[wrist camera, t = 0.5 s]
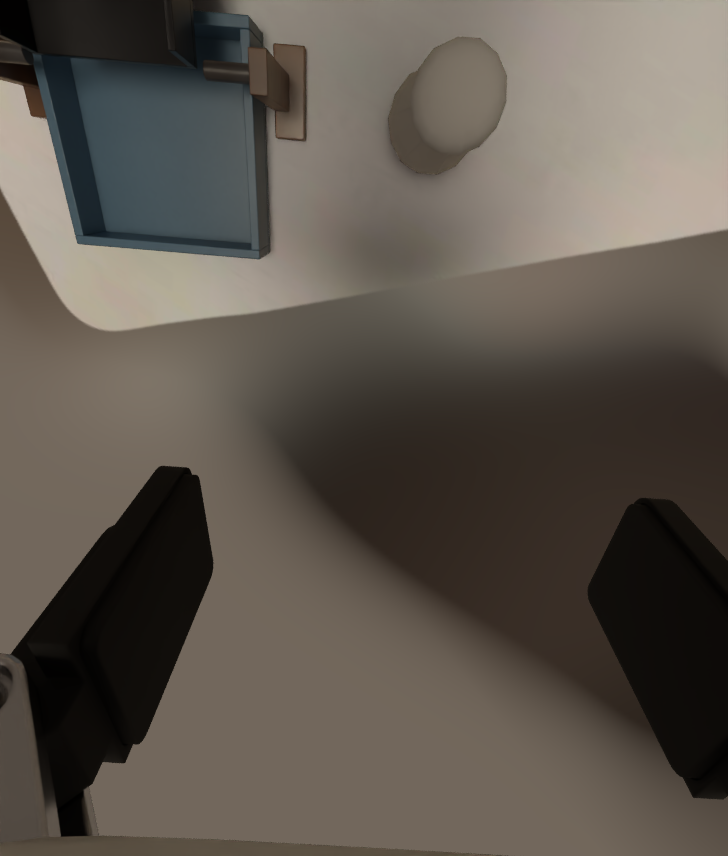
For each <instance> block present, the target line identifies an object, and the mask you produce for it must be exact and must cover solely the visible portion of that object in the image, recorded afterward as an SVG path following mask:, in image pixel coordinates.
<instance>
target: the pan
mask: <svg viewBox="0 0 728 856" xmlns="http://www.w3.org/2000/svg"><path fill="white" fill-rule="evenodd" d="M0 38H2V39H4V40H6V41H9V42H11V43H13V44H15V45H17V46H19V47H21V48H23V49H25V50H27V51H29V52H31V53H34V54H36V55H46V56H57V57H68V58H79V59H90V60H101V61H112V62H123V63H134V64H144V65H155V66H166V67H177V68H188V69H197V56H196V43H195V29H194V16H193V3H192V0H0Z"/></svg>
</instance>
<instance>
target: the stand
mask: <svg viewBox="0 0 728 856" xmlns="http://www.w3.org/2000/svg"><path fill="white" fill-rule="evenodd" d="M273 50H274V57H273V56H272V55H271V53H270V52H269V51H268V50H267V49H266V48H257V47H248V63H237V62H226V61H215V60H204V61H203V73H204V77H205V79H206V80H207V81H214V82H225V83H236V84H247V85H249V86H250V95H252V96H253V97H255V98H256V99H258V100H259V101H261V102H262V103H264V104H265V105H267V106H268V107H270V108H271V109H273V110H275V133H276V138H278V139H287V140H298V141H305V140H306V49H305V47H304V46H297V45H287V44H276V43H274V44H273ZM33 63H34V57H33V53H31V52H29V51H27V50H25V49H23V48H21V47H19V46H17V45H15V44H13V43H11V42H9V41H6V40H4V39H2V38H0V80H3V81H7V82H11V83H15V84H19V85H23V87H24V90H25V94H26V98H27V102H28V106H29V110H30V114H31V116H33V117H39V118H47V117H46V113H45V109H44V105H43V101H42V97H41V93H40V89H39V85H38V81H37V77H36V72H35V68H34V64H33Z"/></svg>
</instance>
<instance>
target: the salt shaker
mask: <svg viewBox="0 0 728 856" xmlns="http://www.w3.org/2000/svg"><path fill="white" fill-rule="evenodd" d="M506 87H507V75H506V72H505V70H504V68H503V65H502V63H501V60H500V58H499V56H498V53H497V52H496V51H495V50H493V49H492V48H491V47H490V46H489V45H487V44H486V43H485V42H484V41H483V40H481V39H480V38H469V37H456V38H454V39H452V40H450V41H448V42H446V43H444V44H442V45H440V46H438V47H436V48H434V49H433V50H432V52H431V53H430V54H429V56H428V57H427V58H426V60H425V61H424V62H423V64H422V65H421V66H420V68H419V69H418V71H415V72H413V73H411V74H409V76H408V77H407V79H406V80H405V81H404V83H403V84H402V85H401V87H400V88H399V90H398V91H397V92H396V94H395V96H394V100H393V103H392V107H391V110H390V114H389V117H388V122H389V130H390V138H391V143H392V145H393V147H394V149H395V151H396V153H397V155H398V157H399V159H400V161H401V162H402V163H404V164H405V165H407V166H408V167H410V168H411V169H413V170H414V171H416V172H417V173H425V174H436V175H437V174H439V173H441V172H443V171H446V170H448V169H450V168H452V167H455V166H456V165H457V164H458V163H459V162H460V160H461V159H462V158H463V157H464V156H465V155H466V154H467V152H469V151H471V150H473V149H475V148H477V147H479V146H480V145H481V144H482V143H483V142H484V141H485V140H486V139H487V138H488V137H489V135H490V134H491V133H492V132H493V131H494V130H495V129H496V127H497V125H498V122H499V120H500V117H501V114H502V111H503V109H504V106H505V103H506Z"/></svg>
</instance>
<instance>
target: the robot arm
mask: <svg viewBox="0 0 728 856" xmlns="http://www.w3.org/2000/svg"><path fill="white" fill-rule="evenodd" d="M212 572H213V557H212V551H211V545H210V539H209V533H208V527H207V522H206V515H205V509H204V503H203V497H202V492H201V485H200V480H199V477H198V476H197V475H192V473H191V471H190V469H189V468H186V467H171V466H160V467H158V468H157V469H156V470H155V472H154V473H153V474H152V476H151V477H150V479H149V480H148V481H147V483H146V484H145V485H144V487H143V488H142V489H141V491H140V492H139V493H138V495H137V496H136V497H135V499H134V500H133V501H132V503H131V504H130V505H129V507H128V508H127V509H126V511H125V512H124V513H123V515H122V516H121V517H120V519H119V520H118V521H117V523H116V524H115V525H113V526H112V527H109V528H108V529H107V530H106V531H105V532H104V533H103V534H102V535H101V537H100V538H99V539H98V540H97V542H96V543H95V544H94V546H93V547H92V548H91V550H90V551H89V552H88V554H87V555H86V556H85V558H84V559H83V560H82V561H81V563H80V564H79V565H78V567H77V568H76V569H75V571H74V572H73V573H72V574H71V576H70V577H69V578H68V580H67V581H66V582H65V584H64V585H63V586H62V587H61V589H60V590H59V591H58V593H57V594H56V596H55V597H54V598H53V599H52V601H51V602H50V603H49V605H48V606H47V607H46V608H45V610H44V611H43V612H42V614H41V615H40V616H39V618H38V619H37V620H36V621H35V623H34V624H33V626H32V627H31V628H30V629H29V631H28V632H27V633H26V635H25V636H24V638H23V639H22V640H21V641H20V642H19V644H18V645H17V646H16V648H15V649H14V650H13V652H12V653H11V654H3V653H0V856H506V855H489V854H472V853H471V854H470V853H455V852H436V851H420V850H403V849H386V848H367V847H347V846H330V845H311V844H292V843H274V842H255V841H237V840H218V839H190V838H189V839H188V838H158V837H128V836H127V837H126V836H99V833H98V828H97V823H96V819H95V814H94V809H93V804H92V799H91V794H90V789H89V786H90V785H91V784H93V781H94V779H95V777H96V775H97V773H98V771H99V768H100V766H101V764H102V762H112V763H125V762H126V760H127V757H128V755H129V752H130V750H131V748H132V745H133V744H140V743H141V742H142V741H143V739H144V738H145V736H146V734H147V732H148V729H149V727H150V724H151V722H152V720H153V717H154V715H155V712H156V710H157V707H158V705H159V703H160V700H161V698H162V695H163V693H164V690H165V688H166V685H167V683H168V681H169V678H170V676H171V673H172V671H173V669H174V666H175V664H176V661H177V659H178V656H179V654H180V652H181V649H182V646H183V644H184V642H185V639H186V637H187V635H188V632H189V630H190V627H191V625H192V622H193V620H194V617H195V615H196V613H197V610H198V608H199V605H200V603H201V601H202V598H203V596H204V593H205V591H206V589H207V586H208V584H209V581H210V579H211V576H212ZM588 599H589V602H590V604H591V606H592V608H593V610H594V612H595V614H596V616H597V618H598V620H599V622H600V624H601V626H602V628H603V630H604V632H605V634H606V636H607V638H608V640H609V642H610V645H611V647H612V649H613V651H614V653H615V655H616V657H617V659H618V661H619V663H620V664H621V667H622V668H623V671H624V673H625V674H626V677H627V679H628V681H629V683H630V685H631V687H632V689H633V691H634V693H635V695H636V697H637V699H638V701H639V703H640V705H641V707H642V709H643V711H644V713H645V715H646V717H647V719H648V721H649V723H650V725H651V727H652V729H653V731H654V733H655V735H656V737H657V739H658V741H659V743H660V745H661V747H662V749H663V751H664V753H665V755H666V757H667V759H668V761H669V763H670V765H671V767H672V768H673V770H674V771H675V772H676V773H677V774H678V775H679V776H681V777H683V779H684V781H685V783H686V785H687V786H688V788H689V790H690V792H691V794H692V796H693V798H707V799H724V798H726V797H727V796H728V561H727V560H726V559H725V557H724V556H723V555H722V554H721V553H720V552H719V551H718V550H717V549H716V548H715V546H714V545H713V544H712V543H711V542H710V541H709V540H708V539H707V538H706V536H704V534H703V533H702V532H701V531H700V530H699V529H698V528H697V527H696V525H695V524H694V523H693V522H692V521H691V520H690V519H689V518H688V517H687V515H686V514H685V513H684V512H683V511H682V510H681V509H680V508H679V507H678V506H677V504H675V503H674V502H673V501H671V500H666V499H651V498H640V499H638V500H637V501H636V502H635V503H634V504H631V505H629V506H628V507H627V509H626V511H625V513H624V515H623V517H622V519H621V521H620V523H619V525H618V527H617V529H616V531H615V533H614V535H613V537H612V539H611V541H610V543H609V545H608V547H607V549H606V551H605V553H604V556H603V558H602V559H601V561H600V563H599V566H598V568H597V569H596V572H595V574H594V575H593V577H592V580H591V582H590V584H589V586H588Z"/></svg>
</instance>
